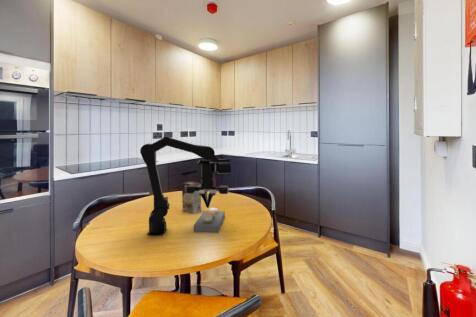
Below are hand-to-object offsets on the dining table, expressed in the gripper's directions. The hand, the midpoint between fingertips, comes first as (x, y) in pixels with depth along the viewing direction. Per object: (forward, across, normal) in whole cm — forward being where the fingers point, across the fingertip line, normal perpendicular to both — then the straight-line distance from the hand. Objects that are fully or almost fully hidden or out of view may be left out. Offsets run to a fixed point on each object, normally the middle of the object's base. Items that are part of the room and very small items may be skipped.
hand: (207, 207), depth 116 cm
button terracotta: (+6, 0, -5) cm, 8 cm away
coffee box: (+10, +14, -24) cm, 30 cm away
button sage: (+5, 0, +2) cm, 6 cm away
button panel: (+10, 0, -5) cm, 11 cm away
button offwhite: (+6, -1, -11) cm, 13 cm away
